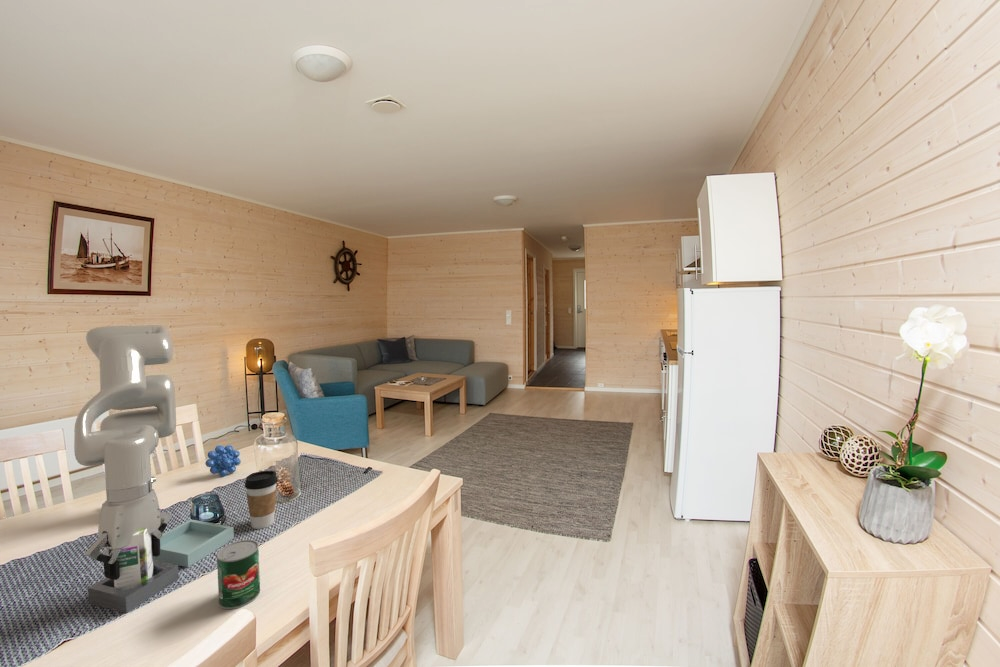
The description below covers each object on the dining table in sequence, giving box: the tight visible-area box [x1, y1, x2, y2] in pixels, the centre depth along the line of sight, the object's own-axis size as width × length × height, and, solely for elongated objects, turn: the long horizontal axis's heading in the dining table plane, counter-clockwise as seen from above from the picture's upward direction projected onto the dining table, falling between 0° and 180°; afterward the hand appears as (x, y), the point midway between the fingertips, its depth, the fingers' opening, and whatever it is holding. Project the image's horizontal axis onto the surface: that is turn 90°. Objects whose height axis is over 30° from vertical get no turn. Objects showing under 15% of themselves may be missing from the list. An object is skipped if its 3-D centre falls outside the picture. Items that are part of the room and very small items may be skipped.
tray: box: [153, 519, 235, 568], centre depth 111 cm, size 15×13×3 cm
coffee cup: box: [244, 470, 278, 530], centre depth 122 cm, size 8×8×15 cm
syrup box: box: [111, 528, 154, 591], centre depth 94 cm, size 6×6×14 cm
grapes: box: [205, 444, 242, 477], centre depth 154 cm, size 12×7×12 cm, turn 146°
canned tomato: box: [216, 539, 261, 610], centre depth 92 cm, size 8×8×11 cm
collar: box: [87, 560, 179, 614], centre depth 94 cm, size 11×11×4 cm
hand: (134, 565), depth 94 cm, fingers closed on syrup box, 7 cm apart
